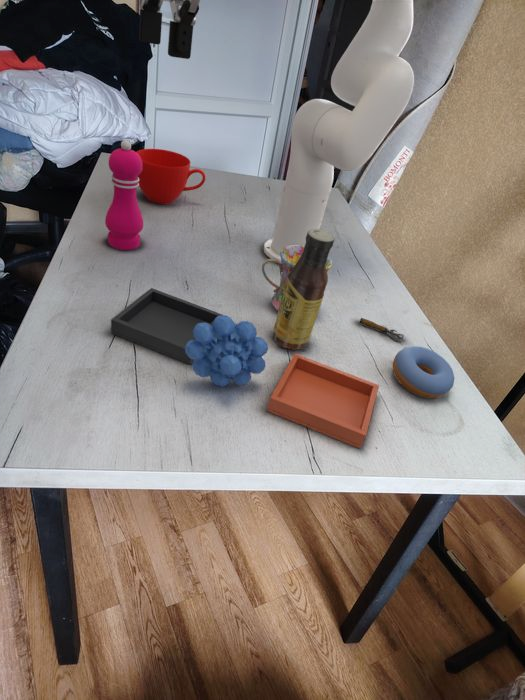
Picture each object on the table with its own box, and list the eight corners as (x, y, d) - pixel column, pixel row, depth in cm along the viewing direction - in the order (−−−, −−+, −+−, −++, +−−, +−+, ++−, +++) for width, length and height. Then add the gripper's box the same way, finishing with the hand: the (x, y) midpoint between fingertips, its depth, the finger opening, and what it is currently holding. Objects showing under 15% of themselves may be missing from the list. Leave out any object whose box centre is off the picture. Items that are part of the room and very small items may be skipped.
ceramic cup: (199, 216, 115) (203, 174, 109) (127, 203, 113) (128, 159, 107) (204, 197, 125) (209, 158, 119) (139, 185, 123) (141, 144, 117)
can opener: (358, 323, 89) (360, 318, 89) (362, 318, 91) (364, 313, 90) (403, 344, 87) (405, 339, 86) (406, 339, 88) (409, 334, 88)
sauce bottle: (269, 328, 83) (296, 220, 71) (304, 331, 84) (336, 226, 72) (273, 351, 78) (303, 239, 66) (310, 355, 79) (345, 245, 67)
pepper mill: (133, 254, 94) (137, 150, 82) (98, 245, 94) (97, 139, 82) (147, 241, 100) (153, 141, 88) (115, 232, 100) (115, 131, 88)
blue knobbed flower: (183, 406, 64) (192, 335, 57) (179, 373, 69) (187, 303, 62) (266, 406, 67) (284, 338, 60) (257, 374, 72) (273, 308, 65)
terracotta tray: (291, 365, 76) (294, 353, 74) (373, 397, 73) (379, 385, 72) (266, 410, 66) (270, 397, 65) (359, 448, 64) (366, 435, 63)
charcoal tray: (150, 300, 82) (151, 287, 81) (221, 327, 80) (224, 314, 79) (110, 333, 73) (110, 319, 72) (190, 364, 71) (191, 351, 70)
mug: (312, 297, 94) (326, 248, 88) (320, 324, 87) (337, 273, 80) (252, 290, 92) (262, 239, 86) (256, 317, 85) (267, 264, 78)
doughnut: (459, 401, 77) (472, 379, 74) (407, 405, 73) (418, 383, 71) (426, 361, 84) (437, 340, 81) (377, 363, 81) (387, 342, 78)
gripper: (236, -100, 56) (215, 67, 66) (171, -103, 66) (162, 41, 76) (178, -121, 52) (165, 60, 62) (118, -121, 62) (116, 34, 72)
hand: (163, 49), depth 69 cm, fingers open, 9 cm apart
